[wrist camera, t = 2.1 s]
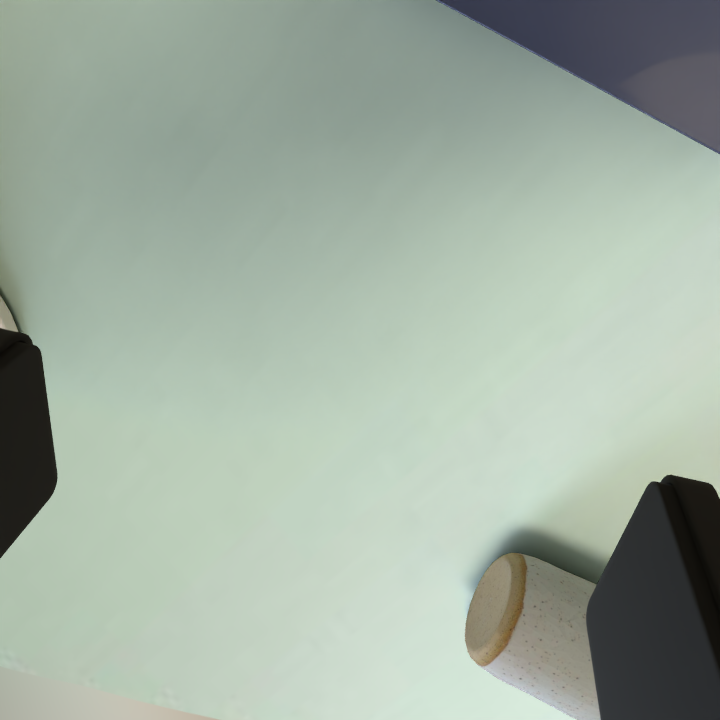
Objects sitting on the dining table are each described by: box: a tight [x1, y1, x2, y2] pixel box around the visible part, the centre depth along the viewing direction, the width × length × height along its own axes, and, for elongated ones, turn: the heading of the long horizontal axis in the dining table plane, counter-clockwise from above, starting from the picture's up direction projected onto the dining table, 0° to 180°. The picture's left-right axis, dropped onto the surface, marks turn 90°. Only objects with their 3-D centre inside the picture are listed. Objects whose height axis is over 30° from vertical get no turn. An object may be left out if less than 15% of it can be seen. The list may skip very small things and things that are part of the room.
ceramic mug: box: [465, 553, 601, 720], centre depth 40 cm, size 11×8×8 cm
